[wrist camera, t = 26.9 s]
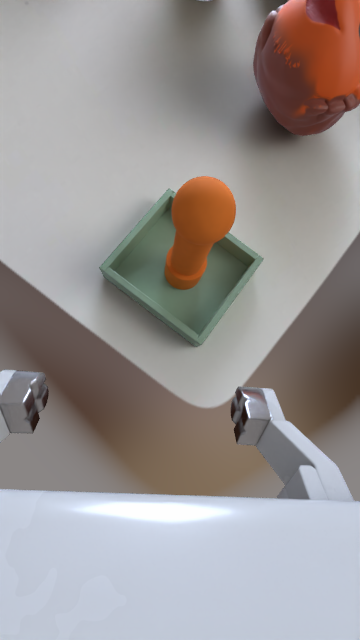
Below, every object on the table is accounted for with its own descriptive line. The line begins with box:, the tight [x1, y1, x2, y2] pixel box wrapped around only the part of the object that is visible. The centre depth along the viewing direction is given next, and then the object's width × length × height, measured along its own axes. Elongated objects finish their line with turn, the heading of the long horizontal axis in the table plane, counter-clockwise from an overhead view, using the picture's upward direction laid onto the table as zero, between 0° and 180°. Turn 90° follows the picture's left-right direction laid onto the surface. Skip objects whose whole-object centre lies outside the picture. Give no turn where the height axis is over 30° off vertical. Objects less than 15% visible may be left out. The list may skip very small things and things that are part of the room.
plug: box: [165, 176, 236, 290], centre depth 20 cm, size 4×4×12 cm
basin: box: [99, 188, 263, 347], centre depth 26 cm, size 11×10×2 cm
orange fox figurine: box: [253, 0, 360, 136], centre depth 26 cm, size 12×10×11 cm
